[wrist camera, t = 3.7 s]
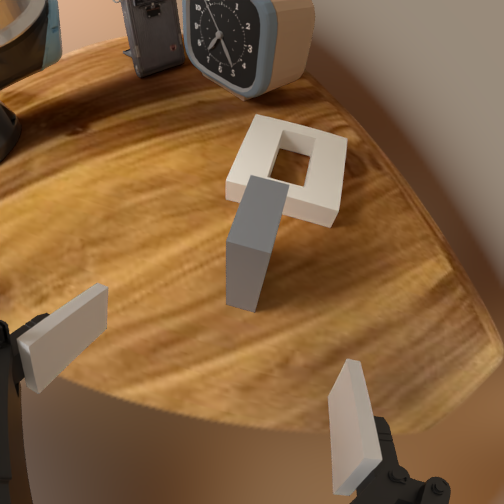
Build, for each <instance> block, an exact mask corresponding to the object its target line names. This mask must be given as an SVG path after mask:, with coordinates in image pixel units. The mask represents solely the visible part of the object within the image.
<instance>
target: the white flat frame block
mask: <svg viewBox="0 0 504 504" xmlns="http://www.w3.org/2000/svg"><path fill="white" fill-rule="evenodd" d="M279 148H281V149H285V150H289V151H292V152H296V153H300V154H304V155H307V156H311V157H310V161H309V166H308V170H307V175H306V179H305V184H304V187H302V186H298V185H295V184H291V183H287V182H284V181H280V180H276V179H272V178H270V175H271V172H272V169H273V166H274V163H275V160H276V157H277V154H278V151H279ZM346 149H347V138H344V137H341V136H338V135H334V134H331V133H328V132H324V131H321V130H317V129H314V128H310V127H306V126H303V125H299V124H295V123H291V122H287V121H283V120H279V119H275V118H271V117H266V116H262V115H258V114H256V115H255V117H254V119H253V121H252V123H251V126H250V128H249V130H248V132H247V134H246V136H245V139H244V141H243V143H242V145H241V148H240V150H239V152H238V154H237V157H236V159H235V161H234V163H233V166H232V168H231V170H230V172H229V175H228V177H227V179H226V200H230V201H234V202H238V203H240V202H241V200H242V197H243V194H244V191H245V189H246V186H247V184H248V181H249V178H250V176H251V175H253V176H257V177H261V178H265V179H269V180H273V181H277V182H280V183H284V184H288V185H289V189H288V193H287V197H286V201H285V204H284V208H283V212H282V214H283V215H287V216H290V217H294V218H297V219H301V220H304V221H308V222H312V223H315V224H319V225H322V226H325V227H329V228H331V226H332V224H333V222H334V220H335V218H336V216H337V214H338V212H339V207H340V200H341V192H342V184H343V176H344V167H345V158H346Z"/></svg>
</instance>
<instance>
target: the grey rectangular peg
mask: <svg viewBox="0 0 504 504" xmlns="http://www.w3.org/2000/svg"><path fill="white" fill-rule="evenodd" d="M288 189H289V185H288V184H284V183H280V182H277V181H273V180H269V179H265V178H261V177H257V176H253V175H251V176H250V178H249V181H248V184H247V186H246V189H245V191H244V194H243V197H242V200H241V202H240V205H239V208H238V210H237V213H236V216H235V218H234V221H233V224H232V227H231V229H230V232H229V235H228V237H227V240H226V304H227V305H230V306H233V307H237V308H240V309H244V310H247V311H251V312H254V313H255V310H256V306H257V303H258V299H259V296H260V292H261V289H262V285H263V282H264V278H265V275H266V271H267V267H268V264H269V260H270V257H271V253H272V249H273V246H274V242H275V238H276V234H277V231H278V227H279V223H280V220H281V216H282V212H283V208H284V204H285V201H286V197H287V193H288Z"/></svg>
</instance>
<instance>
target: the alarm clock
mask: <svg viewBox="0 0 504 504" xmlns="http://www.w3.org/2000/svg"><path fill="white" fill-rule="evenodd" d="M182 5H183V32H184V44H185V49H186V53H187V55H188V57H189V59H190V61H191V62H192V64H193V65H194V66H195V67H196V68H197V69H199V70H200V71H201V72H202V75H203V76H205V77H206V78H208V79H210V80H211V81H213V82H214V83H216V84H218V85H219V86H221V87H223V88H224V89H226V90H227V91H229V92H230V93H232V94H234V95H235V96H237V97H238V98H240V99H241V100H243V101H246V100H248V99H250V98H253V97H257V96H260V95H262V94H264V93H267V92H269V91H271V90H274V89H276V88H279V87H281V86H284V85H286V84H289V83H291V82H294V81H296V80H297V79H299V78H300V77H301V75H302V74H303V72H304V70H305V66H306V63H307V58H308V54H309V49H310V44H311V39H312V34H313V29H314V23H315V11H314V5H313V3H312V1H311V0H183V2H182Z"/></svg>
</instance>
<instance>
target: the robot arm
mask: <svg viewBox="0 0 504 504" xmlns="http://www.w3.org/2000/svg"><path fill="white" fill-rule="evenodd" d="M61 56H62V41H61V30H60V20H59V9H58V1H57V0H0V90H2V89H4V88H6V87H8V86H10V85H12V84H14V83H16V82H18V81H20V80H22V79H24V78H26V77H28V76H31V75H33V74H35V73H37V72H40V71H42V70H44V69H45V68H47V67H49V66H51V65H53V64H55V63H56V62H58V61H59V60H60V58H61ZM20 133H21V124H20V122H19V120H18V118H17V116H16V114H15V113H13V112H12V111H11V110H10V109H9V108H8V107H7V106H6V105H4V104H3V103H2V102H1V101H0V162H1V161H2V160H3V159H4V158H5V157H6V155H7V154H8V153H9V152H10V151H11V149H12V148H13V147H14V145H15V144H16V142H17V140H18V138H19V136H20ZM107 304H108V287H107V286H104V285H101V284H99V283H96V284H95V285H93V286H92V287H90V288H89V289H87V290H86V291H84V292H83V293H81V294H80V295H78V296H77V297H75V298H74V299H72V300H71V301H69V302H68V303H66V304H65V305H63V306H62V307H61V308H59V309H58V310H56V311H55V312H53V313H52V314H48V313H44V314H41V315H38V316H36V317H35V318H33V319H32V320H31V321H29V322H27V323H26V324H25V325H23V326H22V327H20V328H19V329H17V330H16V331H14V332H13V333H12V334H9V328H8V325H7V323H6V322H4V321H2V320H0V504H33V501H32V496H31V491H30V485H29V479H28V473H27V467H26V459H25V450H24V440H23V428H22V409H21V384H20V381H21V380H22V379H23V378H24V377H25V381H26V385H27V387H28V388H30V389H31V390H33V391H35V392H36V393H38V394H39V393H40V392H41V391H42V390H43V389H44V388H45V387H46V386H47V385H48V384H49V383H50V382H51V381H52V380H53V379H54V378H55V377H56V376H58V375H59V374H60V373H61V372H62V371H63V370H64V369H65V368H66V367H67V366H68V365H69V364H70V363H71V362H72V361H73V360H74V359H75V358H76V357H77V356H78V355H79V354H80V353H81V352H82V351H84V350H85V349H86V348H87V347H88V346H89V345H90V344H91V343H92V342H93V341H94V340H95V339H96V338H97V337H98V336H99V335H100V334H102V333H103V332H104V331H105V330H106V329H107ZM328 406H329V420H330V436H331V453H332V475H333V476H332V477H333V494H335V495H347V496H350V495H351V494H352V493H353V492H354V491H355V490H357V497H356V498H355V499H354V500H353V501H352V502H351V503H350V504H448V503H449V499H450V491H451V490H450V486H449V484H448V483H447V482H446V481H445V480H444V479H442V478H440V477H432V478H430V479H429V480H427V481H426V482H421V481H417V480H415V479H412V478H410V476H409V474H408V472H407V470H405V469H404V468H403V467H401V466H399V464H398V460H397V455H396V451H395V447H394V443H393V439H392V435H391V431H390V427H389V425H388V423H387V422H386V421H385V419H384V418H383V417H376V416H373V412H372V408H371V403H370V399H369V395H368V391H367V387H366V382H365V378H364V374H363V370H362V366H361V363H360V361H356V360H352V359H346V361H345V363H344V365H343V368H342V370H341V372H340V374H339V376H338V378H337V380H336V382H335V384H334V386H333V388H332V390H331V392H330V393H329V395H328Z"/></svg>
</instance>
